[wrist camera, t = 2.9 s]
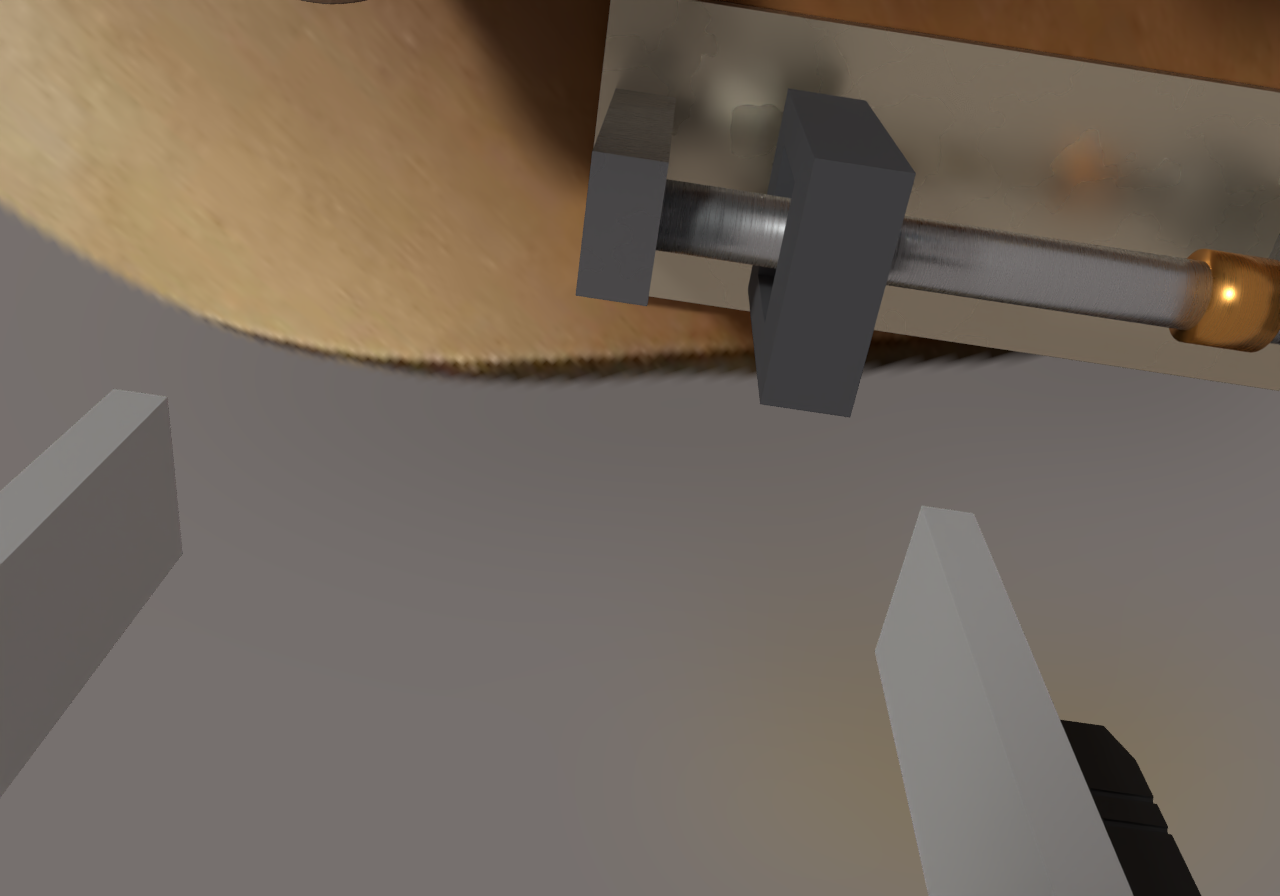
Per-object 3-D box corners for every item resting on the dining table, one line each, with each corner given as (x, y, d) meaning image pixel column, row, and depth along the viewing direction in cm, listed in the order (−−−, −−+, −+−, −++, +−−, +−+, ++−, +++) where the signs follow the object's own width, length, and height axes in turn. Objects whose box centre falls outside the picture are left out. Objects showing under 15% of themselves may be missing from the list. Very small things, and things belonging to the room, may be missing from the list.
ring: (747, 288, 35) (760, 403, 28) (788, 88, 32) (814, 158, 24) (818, 299, 35) (850, 417, 28) (865, 100, 32) (915, 173, 24)
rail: (580, 275, 39) (547, 389, 30) (614, -16, 34) (586, 25, 26) (1265, 379, 39) (1416, 517, 31) (1397, 107, 34) (1617, 185, 26)
